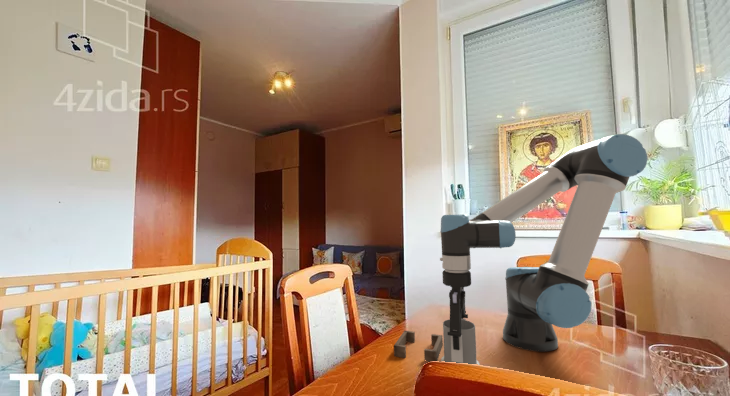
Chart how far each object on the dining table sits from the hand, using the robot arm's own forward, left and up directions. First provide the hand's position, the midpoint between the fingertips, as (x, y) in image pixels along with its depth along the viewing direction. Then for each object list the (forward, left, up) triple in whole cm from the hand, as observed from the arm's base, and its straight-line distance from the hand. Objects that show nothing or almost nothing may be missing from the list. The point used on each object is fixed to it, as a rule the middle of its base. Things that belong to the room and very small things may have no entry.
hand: (459, 350), depth 81 cm
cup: (0, 0, -3) cm, 3 cm away
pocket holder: (+12, -4, -3) cm, 13 cm away
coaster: (0, 0, -3) cm, 3 cm away
